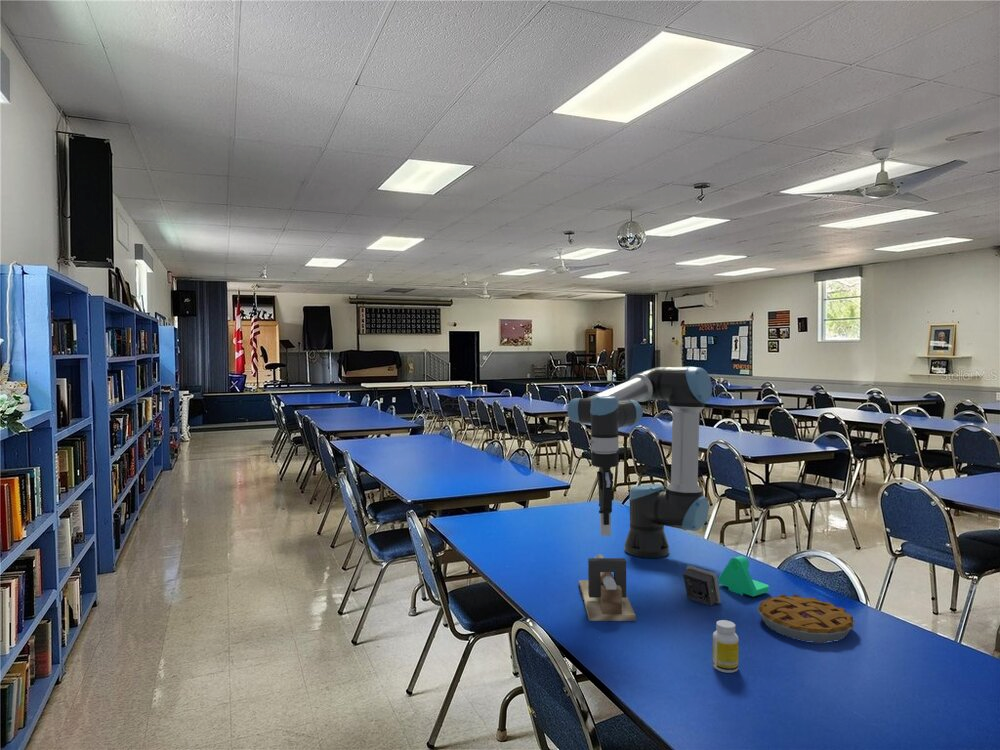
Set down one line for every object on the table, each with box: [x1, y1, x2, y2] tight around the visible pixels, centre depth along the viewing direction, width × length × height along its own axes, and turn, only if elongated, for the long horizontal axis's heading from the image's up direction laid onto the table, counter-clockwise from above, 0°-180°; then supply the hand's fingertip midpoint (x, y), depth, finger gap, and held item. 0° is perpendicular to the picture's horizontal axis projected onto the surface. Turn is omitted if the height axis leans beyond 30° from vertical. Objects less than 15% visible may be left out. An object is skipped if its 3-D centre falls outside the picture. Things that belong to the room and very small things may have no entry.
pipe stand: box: [578, 576, 637, 622], centre depth 175 cm, size 12×25×8 cm, turn 179°
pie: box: [756, 594, 856, 642], centre depth 159 cm, size 22×22×5 cm
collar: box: [587, 557, 627, 598], centre depth 171 cm, size 10×2×10 cm, turn 89°
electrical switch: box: [682, 564, 722, 607], centre depth 175 cm, size 9×5×9 cm, turn 38°
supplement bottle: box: [712, 619, 740, 674], centre depth 138 cm, size 5×5×10 cm
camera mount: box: [717, 555, 770, 597], centre depth 183 cm, size 12×8×10 cm, turn 31°
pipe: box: [594, 553, 618, 595], centre depth 175 cm, size 3×24×3 cm, turn 179°
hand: (605, 534), depth 176 cm, fingers closed
